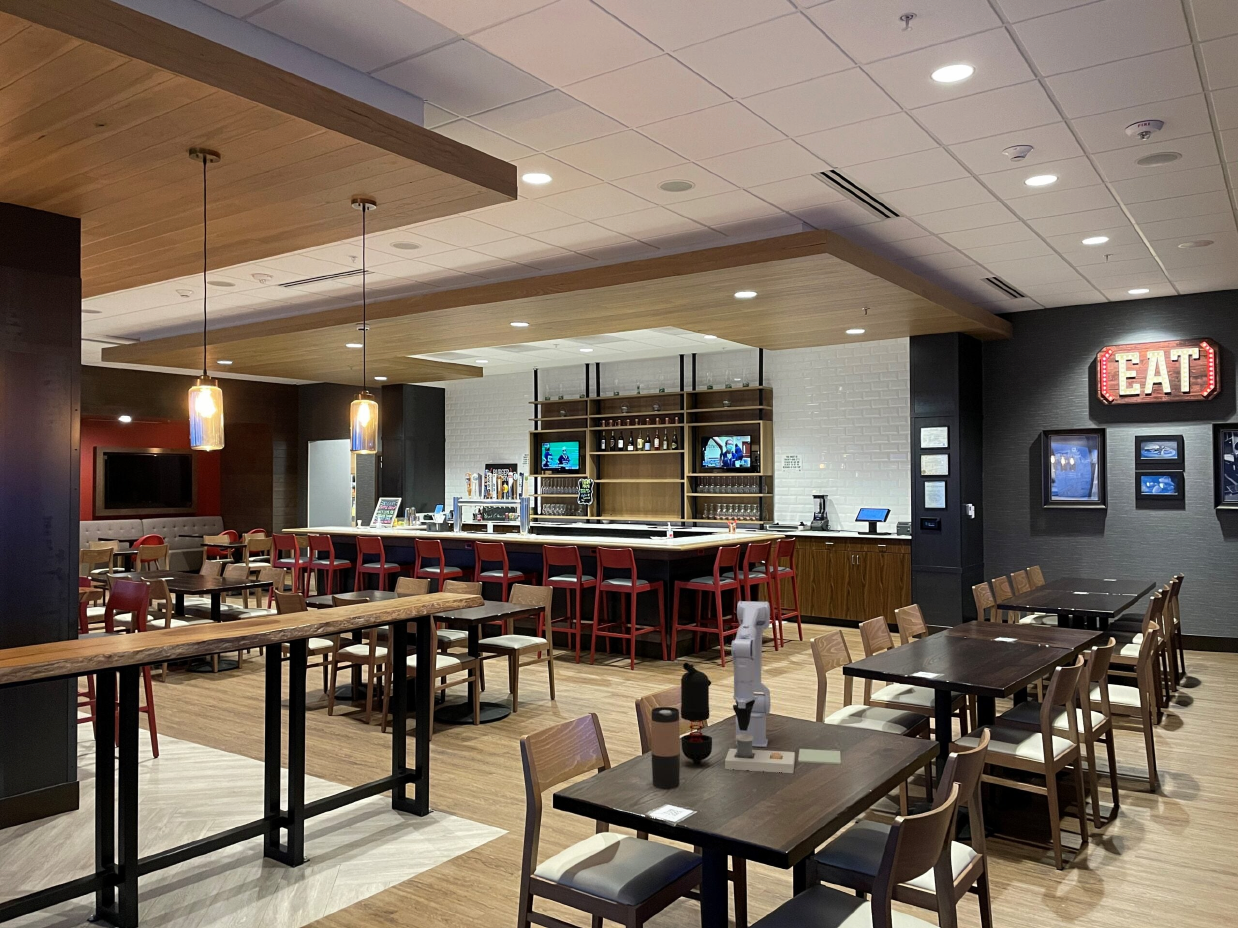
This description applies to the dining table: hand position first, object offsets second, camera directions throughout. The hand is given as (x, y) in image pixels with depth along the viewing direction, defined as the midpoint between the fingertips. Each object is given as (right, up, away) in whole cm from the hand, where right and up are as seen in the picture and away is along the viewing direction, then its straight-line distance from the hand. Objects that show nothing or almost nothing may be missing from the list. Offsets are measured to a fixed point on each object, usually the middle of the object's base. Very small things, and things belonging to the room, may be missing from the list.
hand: (744, 727), depth 262 cm
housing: (+4, -10, -1) cm, 11 cm away
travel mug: (-24, -10, -18) cm, 32 cm away
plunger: (+9, -10, -2) cm, 13 cm away
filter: (-13, -11, +1) cm, 17 cm away
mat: (+23, -10, +6) cm, 26 cm away
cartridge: (0, -10, 0) cm, 10 cm away
